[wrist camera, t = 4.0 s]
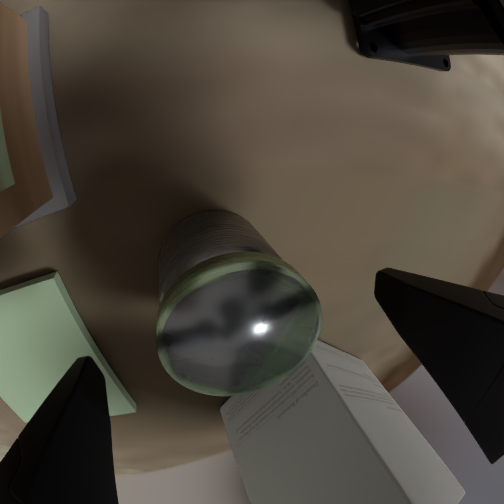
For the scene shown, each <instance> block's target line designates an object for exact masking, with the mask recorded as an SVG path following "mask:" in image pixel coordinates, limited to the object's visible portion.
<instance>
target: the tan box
mask: <svg viewBox="0 0 504 504" xmlns="http://www.w3.org/2000/svg"><path fill="white" fill-rule="evenodd" d="M76 200H77V198H76V195H75V191H74V188H73V184H72V181H71V177H70V173H69V169H68V165H67V161H66V157H65V153H64V148H63V144H62V139H61V134H60V129H59V124H58V119H57V113H56V107H55V100H54V93H53V86H52V77H51V67H50V55H49V35H48V13H47V12H46V11H45V10H44V9H43V8H42V7H41V6H38V7H36V8H34V9H32V10H30V11H28V12H26V13H24V14H22V15H21V16H19V15H18V14H16V13H15V12H14V11H12V10H11V9H9V8H8V7H6V6H5V5H3V4H2V3H0V239H1V238H2V237H3V236H5V235H6V234H7V233H8V232H9V231H11V230H12V229H15V228H17V227H19V226H22V225H24V224H26V223H29V222H31V221H34V220H36V219H39V218H41V217H44V216H46V215H49V214H51V213H54V212H57V211H59V210H62V209H65V208H67V207H70V206H71V205H72V204H73V203H74V202H75V201H76Z"/></svg>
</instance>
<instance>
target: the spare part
mask: <svg viewBox="0 0 504 504" xmlns="http://www.w3.org/2000/svg"><path fill="white" fill-rule="evenodd" d="M321 325H322V310H321V305H320V302H319V299H318V297H317V295H316V293H315V292H314V290H313V289H312V287H311V286H310V285H309V284H308V283H307V282H306V280H305V279H304V278H303V277H302V276H301V275H300V274H299V273H298V272H297V271H296V270H295V269H294V268H293V267H292V266H291V265H290V264H288V263H287V262H285V261H283V260H282V259H281V257H280V256H279V255H278V254H277V253H276V252H275V251H274V249H273V248H272V247H271V246H270V245H269V244H268V243H267V241H266V240H265V239H264V238H263V237H262V236H261V235H260V234H259V232H258V231H257V230H256V229H255V228H254V227H253V226H252V225H251V224H250V223H249V222H248V221H247V220H245V219H244V218H243V217H241V216H239V215H237V214H234V213H231V212H228V211H223V210H208V211H202V212H199V213H195V214H193V215H191V216H188V217H186V218H185V219H183V220H182V221H180V222H179V223H178V224H177V225H176V226H174V228H173V229H172V230H171V231H170V232H169V233H168V235H167V236H166V238H165V240H164V242H163V244H162V247H161V250H160V255H159V309H158V313H157V320H156V331H157V350H158V355H159V358H160V361H161V363H162V365H163V367H164V368H165V370H166V371H167V373H168V374H169V375H170V376H171V377H172V378H173V379H174V380H175V381H177V382H178V383H179V384H181V385H183V386H184V387H186V388H188V389H190V390H193V391H195V392H199V393H202V394H207V395H213V396H236V395H242V394H248V393H251V392H255V391H258V390H261V389H264V388H266V387H268V386H270V385H273V384H274V383H276V382H278V381H280V380H281V379H283V378H284V377H286V376H287V375H289V374H290V373H291V372H292V371H294V370H295V369H296V368H297V367H298V366H299V365H300V364H301V363H302V362H303V361H304V360H305V359H306V357H307V356H308V355H309V353H310V352H311V350H312V349H313V347H314V345H315V343H316V341H317V339H318V336H319V333H320V329H321Z"/></svg>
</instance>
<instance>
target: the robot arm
mask: <svg viewBox="0 0 504 504" xmlns="http://www.w3.org/2000/svg"><path fill="white" fill-rule="evenodd" d="M349 3H350V7H351V11H352V16H353V20H354V25H355V29H356V34H357V39H358V44H359V48H360V51H361V52H362V54H363V55H364V56H365V57H367V58H372V59H380V60H387V61H394V62H400V63H405V64H411V65H416V66H421V67H426V68H430V69H434V70H439V71H449V70H450V68H451V64H450V58H449V55H467V54H484V55H504V0H349ZM369 44H370V45H371V47H372V51H371V50H370V48H369ZM374 295H375V298H376V300H377V302H378V303H379V305H380V306H381V308H382V309H383V311H384V312H385V314H386V315H387V317H388V318H389V320H390V321H391V323H392V325H393V326H394V328H395V329H396V331H397V332H398V334H399V335H400V336H401V338H402V339H403V340H404V341H405V343H406V344H407V345H408V346H409V348H410V349H411V350H412V352H413V353H414V354H415V355H416V357H417V358H418V359H419V361H420V362H421V363H422V365H423V366H424V367H425V369H426V370H427V371H428V373H429V374H430V375H431V377H432V378H433V379H434V381H435V382H436V383H437V385H438V386H439V387H440V389H441V390H442V391H443V393H444V394H445V396H446V397H447V399H448V400H449V401H450V403H451V404H452V406H453V407H454V408H455V410H456V411H457V413H458V414H459V416H460V417H461V419H462V420H463V421H464V423H465V425H466V426H467V427H468V429H469V431H470V432H471V434H472V435H473V437H474V438H475V440H476V441H477V443H478V444H479V446H480V448H481V449H482V451H483V452H484V454H485V455H486V457H487V459H488V460H489V462H490V463H491V464H493V463H494V462H496V461H497V460H498V459H499V458H500V457H502V456H503V455H504V296H503V295H499V294H495V293H491V292H487V291H482V290H479V289H475V288H471V287H467V286H463V285H458V284H454V283H450V282H446V281H442V280H438V279H434V278H430V277H426V276H422V275H417V274H413V273H409V272H405V271H401V270H396V269H392V268H384V269H382V270H379V271H378V272H377V273H376V278H375V289H374ZM0 504H118V497H117V490H116V483H115V474H114V464H113V452H112V437H111V422H110V415H109V407H108V399H107V391H106V381H105V377H104V375H103V373H102V371H101V370H100V368H99V367H98V366H97V364H96V363H95V361H94V360H93V358H92V357H91V356H83V357H79V358H77V359H76V360H75V362H74V363H73V364H72V365H71V367H70V368H69V369H68V370H67V372H66V373H65V374H64V375H63V377H62V378H61V379H60V381H59V382H58V383H57V384H56V386H55V387H54V388H53V390H52V391H51V392H50V393H49V395H48V396H47V397H46V399H45V400H44V401H43V403H42V404H41V405H40V407H39V408H38V410H37V411H36V412H35V414H34V415H33V416H32V418H31V419H30V421H29V422H28V423H27V425H26V426H25V428H24V429H23V430H22V432H21V433H20V435H19V436H18V438H17V439H16V440H15V442H14V443H13V445H12V446H11V448H10V449H9V451H8V452H7V454H6V455H5V457H4V458H3V459H2V461H1V462H0Z"/></svg>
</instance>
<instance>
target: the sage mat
mask: <svg viewBox="0 0 504 504" xmlns="http://www.w3.org/2000/svg"><path fill="white" fill-rule="evenodd" d="M83 356H91V357H92V358H93V360H94V361H95V363H96V364H97V366H98V367H99V368H100V370H101V371H102V373H103V375H104V377H105V381H106V391H107V399H108V407H109V415H110V416H115V415H122V414H128V413H134V412H136V403H135V402H134V400H133V399H132V398H131V396H130V395H129V394H128V392H127V391H126V390H125V388H124V387H123V385H122V384H121V382H120V381H119V380H118V378H117V377H116V375H115V374H114V372H113V371H112V369H111V368H110V366H109V365H108V363H107V362H106V360H105V358H104V357H103V355H102V354H101V352H100V350H99V349H98V347H97V346H96V344H95V342H94V341H93V339H92V337H91V335H90V334H89V332H88V330H87V328H86V327H85V325H84V323H83V321H82V319H81V318H80V316H79V314H78V312H77V310H76V308H75V306H74V304H73V302H72V300H71V298H70V296H69V294H68V292H67V290H66V288H65V286H64V284H63V282H62V280H61V277H60V275H59V273H58V271H57V272H54V273H50V274H47V275H44V276H41V277H38V278H35V279H32V280H29V281H26V282H23V283H20V284H17V285H14V286H11V287H8V288H5V289H2V290H0V397H1V398H2V399H3V400H4V401H5V402H6V403H7V404H8V405H9V406H10V407H11V409H12V410H13V411H14V412H15V413H16V414H17V415H18V416H19V417H20V418H21V419H22V420H23V421H24V422H29V421H30V419H31V418H32V416H33V415H34V414H35V412H36V411H37V410H38V408H39V407H40V405H41V404H42V403H43V401H44V400H45V399H46V397H47V396H48V395H49V393H50V392H51V391H52V390H53V388H54V387H55V386H56V384H57V383H58V382H59V381H60V379H61V378H62V377H63V375H64V374H65V373H66V372H67V370H68V369H69V368H70V367H71V365H72V364H73V363H74V362H75V360H76V359H77V358H79V357H83Z"/></svg>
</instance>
